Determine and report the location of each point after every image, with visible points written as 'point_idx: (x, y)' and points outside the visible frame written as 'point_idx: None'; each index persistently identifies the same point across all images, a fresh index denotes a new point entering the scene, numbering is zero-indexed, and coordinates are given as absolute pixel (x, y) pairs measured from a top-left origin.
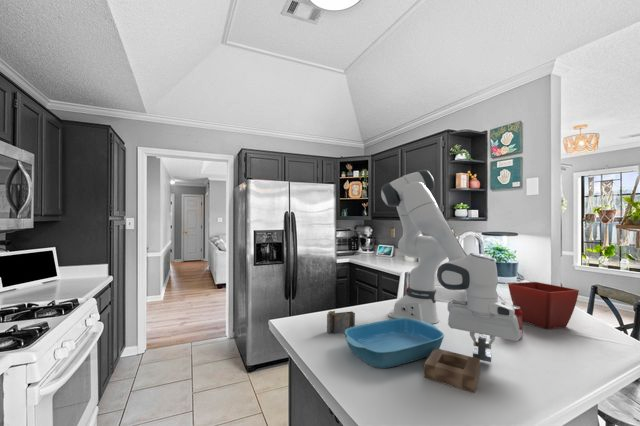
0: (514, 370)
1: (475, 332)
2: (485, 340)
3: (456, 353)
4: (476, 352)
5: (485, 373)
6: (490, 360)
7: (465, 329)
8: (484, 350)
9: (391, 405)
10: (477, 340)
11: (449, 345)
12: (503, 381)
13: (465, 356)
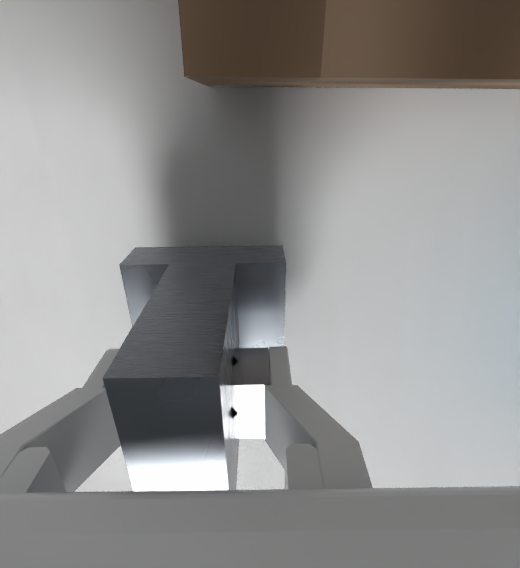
0: (17, 294)
1: (266, 494)
2: (121, 400)
3: (480, 65)
4: (255, 300)
5: (165, 97)
6: (133, 252)
7: (486, 514)
8: (163, 291)
9: None
10: (248, 416)
11: (441, 423)
12: (4, 20)
13: (363, 29)
